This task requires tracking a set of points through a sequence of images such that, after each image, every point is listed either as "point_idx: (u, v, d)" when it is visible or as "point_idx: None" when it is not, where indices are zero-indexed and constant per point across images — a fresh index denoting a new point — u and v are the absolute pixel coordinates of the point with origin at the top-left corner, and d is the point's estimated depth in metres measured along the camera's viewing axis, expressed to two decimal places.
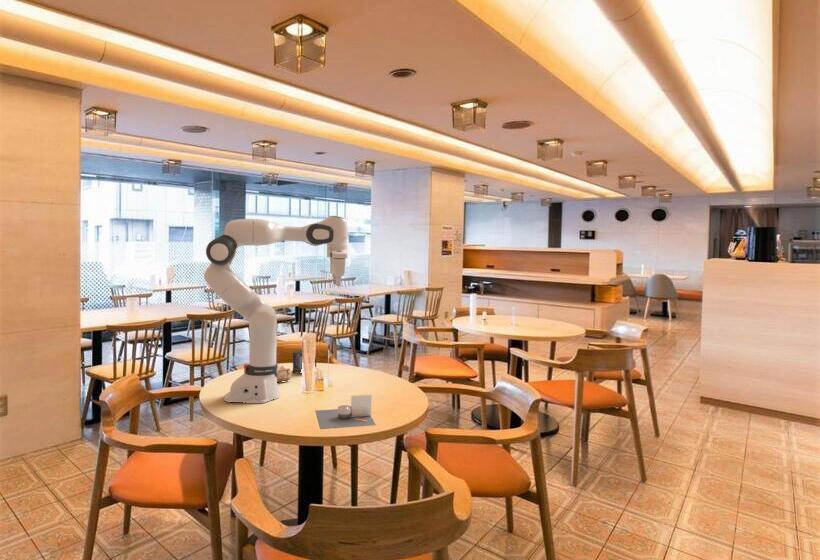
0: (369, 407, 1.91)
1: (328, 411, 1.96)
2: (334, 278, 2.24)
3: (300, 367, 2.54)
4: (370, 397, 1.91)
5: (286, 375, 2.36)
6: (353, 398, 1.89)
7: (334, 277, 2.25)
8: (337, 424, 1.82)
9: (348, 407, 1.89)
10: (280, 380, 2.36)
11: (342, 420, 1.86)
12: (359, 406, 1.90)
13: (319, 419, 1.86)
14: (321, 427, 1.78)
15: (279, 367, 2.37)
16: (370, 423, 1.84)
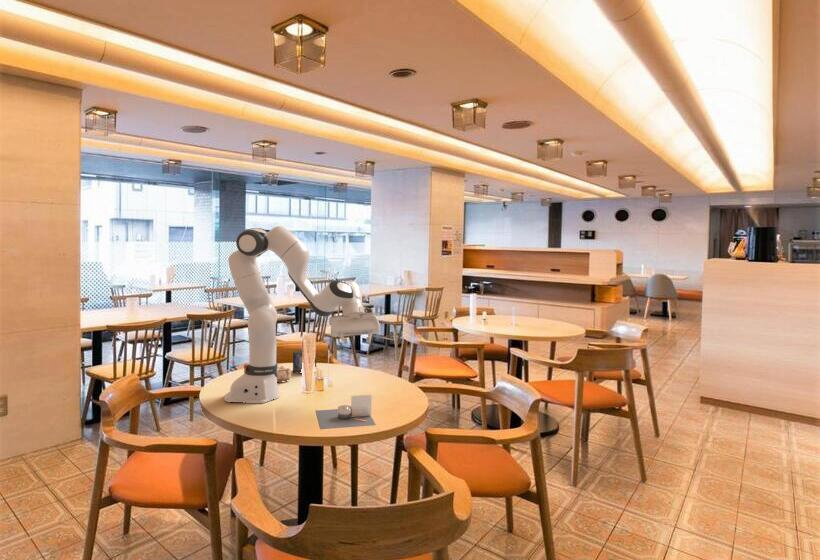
0: (369, 407, 1.91)
1: (328, 411, 1.96)
2: None
3: (300, 367, 2.54)
4: (370, 397, 1.91)
5: (286, 375, 2.36)
6: (353, 398, 1.89)
7: None
8: (337, 424, 1.82)
9: (348, 407, 1.89)
10: (280, 380, 2.36)
11: (342, 420, 1.86)
12: (359, 406, 1.90)
13: (319, 419, 1.86)
14: (321, 427, 1.78)
15: (279, 367, 2.37)
16: (370, 423, 1.84)
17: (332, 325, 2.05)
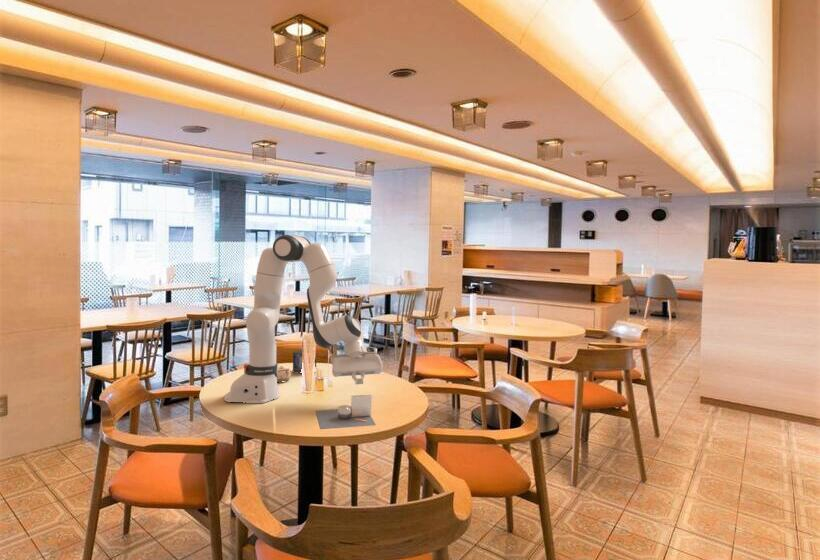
0: (369, 407, 1.91)
1: (328, 411, 1.96)
2: None
3: (300, 367, 2.54)
4: (370, 397, 1.91)
5: (285, 375, 2.36)
6: (353, 398, 1.89)
7: None
8: (337, 424, 1.82)
9: (348, 407, 1.89)
10: (279, 380, 2.35)
11: (342, 420, 1.86)
12: (359, 406, 1.90)
13: (319, 419, 1.86)
14: (321, 427, 1.78)
15: (278, 367, 2.37)
16: (370, 423, 1.84)
17: (334, 365, 2.00)
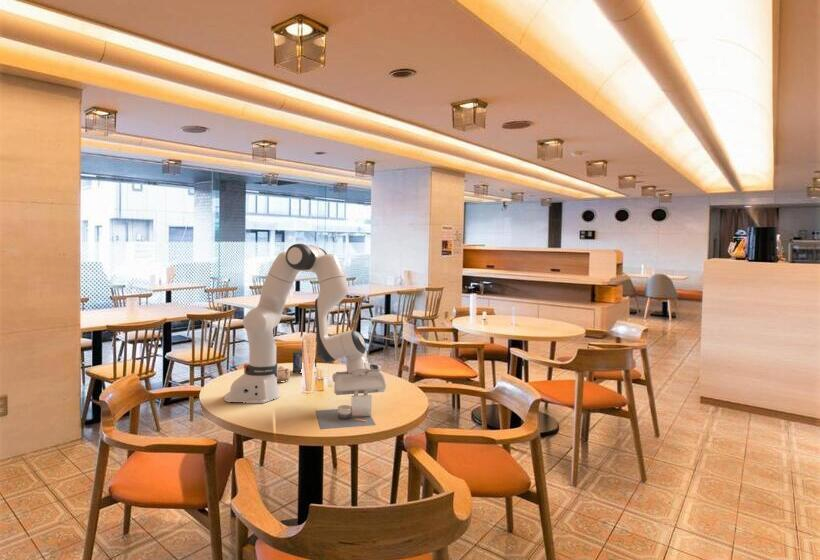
0: (369, 407, 1.91)
1: (328, 411, 1.96)
2: None
3: (300, 367, 2.54)
4: (370, 397, 1.90)
5: (285, 375, 2.36)
6: (353, 398, 1.89)
7: None
8: (337, 424, 1.82)
9: (348, 407, 1.89)
10: (279, 380, 2.35)
11: (342, 420, 1.86)
12: (359, 406, 1.90)
13: (319, 419, 1.86)
14: (321, 427, 1.78)
15: (278, 367, 2.37)
16: (370, 423, 1.84)
17: (336, 383, 1.93)
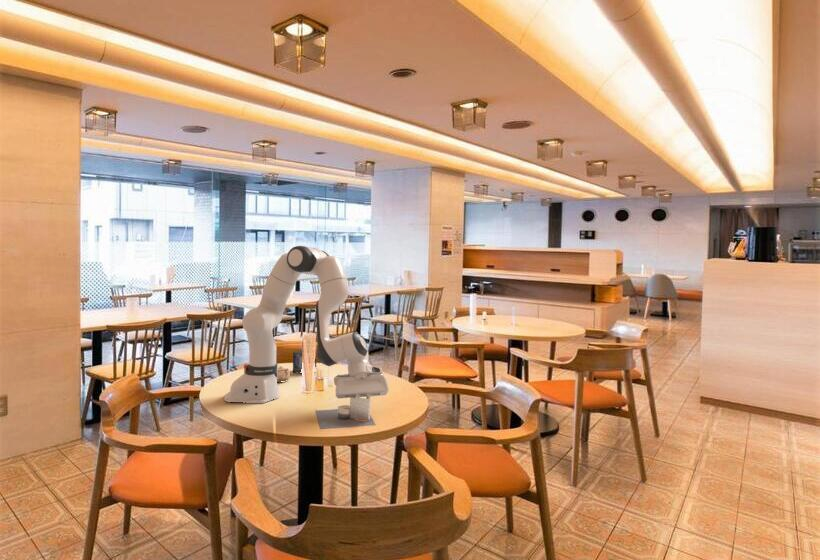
0: (366, 412, 1.85)
1: (328, 411, 1.96)
2: None
3: (300, 367, 2.54)
4: (367, 402, 1.85)
5: (284, 375, 2.36)
6: (351, 399, 1.87)
7: None
8: (337, 424, 1.82)
9: (347, 408, 1.88)
10: (278, 380, 2.35)
11: (342, 420, 1.86)
12: (357, 409, 1.87)
13: (319, 419, 1.86)
14: (321, 427, 1.78)
15: None
16: (370, 423, 1.84)
17: (338, 387, 1.90)
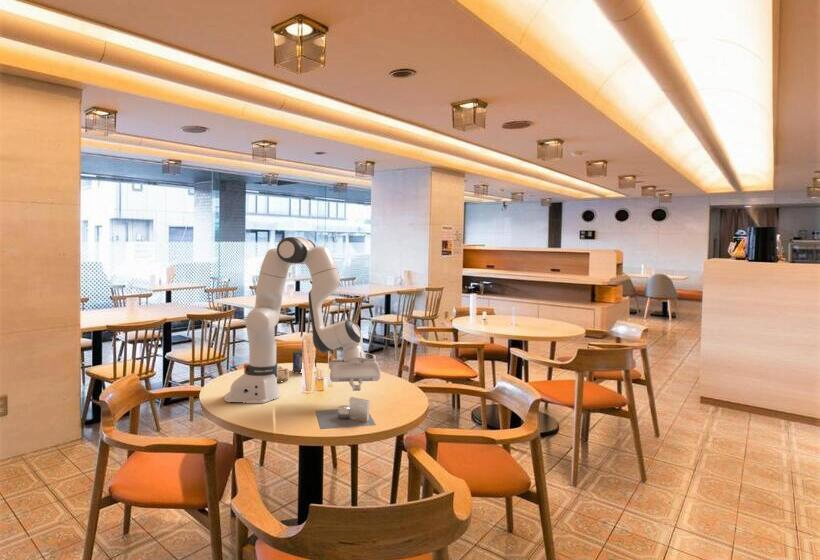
0: (365, 412, 1.85)
1: (328, 411, 1.96)
2: None
3: (300, 367, 2.54)
4: (366, 402, 1.84)
5: (284, 375, 2.36)
6: (351, 400, 1.87)
7: None
8: (337, 424, 1.82)
9: (347, 408, 1.88)
10: (278, 380, 2.35)
11: (342, 420, 1.86)
12: (356, 409, 1.86)
13: (319, 419, 1.86)
14: (321, 427, 1.78)
15: None
16: (370, 423, 1.84)
17: (332, 370, 1.99)
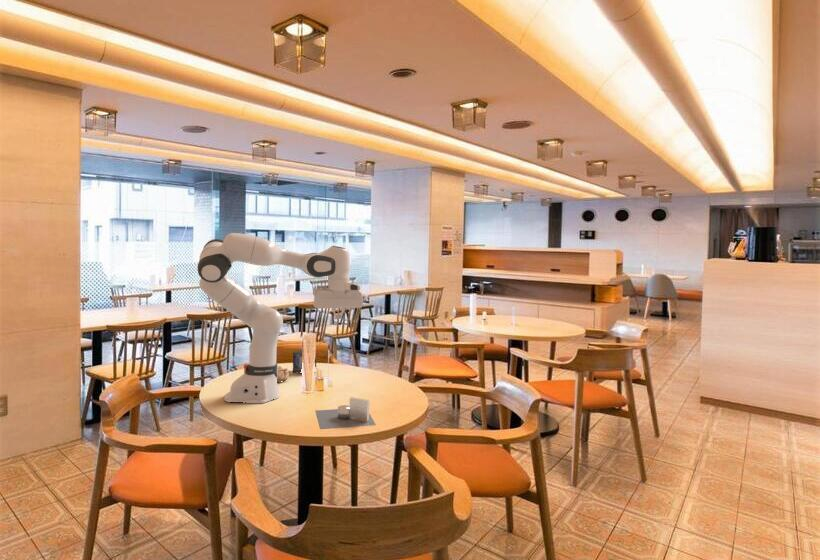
0: (365, 412, 1.85)
1: (328, 411, 1.96)
2: None
3: (300, 367, 2.54)
4: (366, 402, 1.84)
5: (283, 375, 2.36)
6: (351, 400, 1.87)
7: (334, 311, 2.08)
8: (337, 424, 1.82)
9: (347, 408, 1.88)
10: (277, 380, 2.35)
11: (342, 420, 1.86)
12: (356, 409, 1.86)
13: (319, 419, 1.86)
14: (321, 427, 1.78)
15: None
16: (370, 423, 1.84)
17: (316, 300, 2.04)
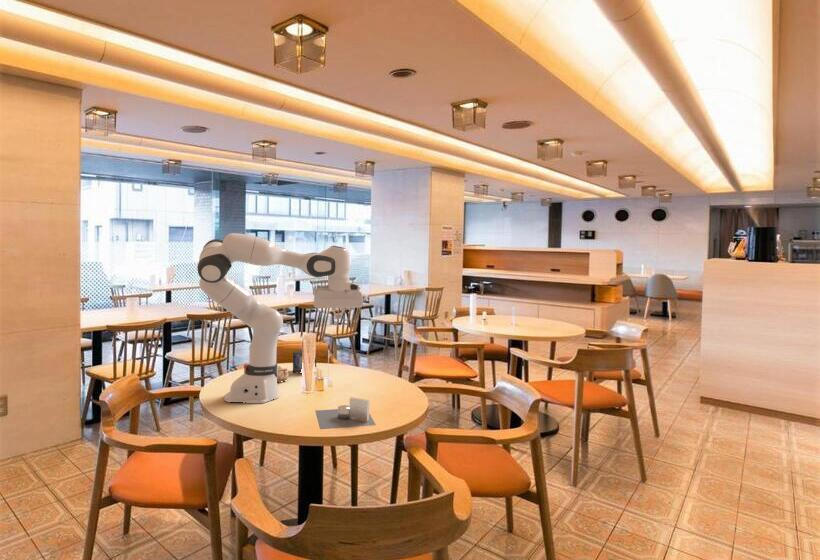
0: (365, 412, 1.85)
1: (328, 411, 1.96)
2: None
3: (300, 367, 2.54)
4: (366, 402, 1.84)
5: (283, 375, 2.36)
6: (351, 400, 1.87)
7: (334, 311, 2.08)
8: (337, 424, 1.82)
9: (347, 408, 1.88)
10: (277, 380, 2.35)
11: (342, 420, 1.86)
12: (356, 409, 1.86)
13: (319, 419, 1.86)
14: (321, 427, 1.78)
15: None
16: (370, 423, 1.84)
17: (316, 300, 2.04)
